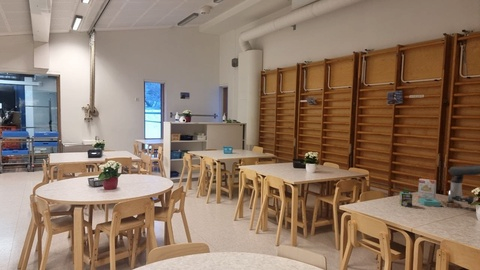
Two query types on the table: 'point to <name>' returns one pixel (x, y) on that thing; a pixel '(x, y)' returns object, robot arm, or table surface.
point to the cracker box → (427, 188)
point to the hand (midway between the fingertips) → (453, 197)
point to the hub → (429, 202)
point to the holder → (451, 204)
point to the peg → (450, 197)
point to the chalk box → (405, 198)
